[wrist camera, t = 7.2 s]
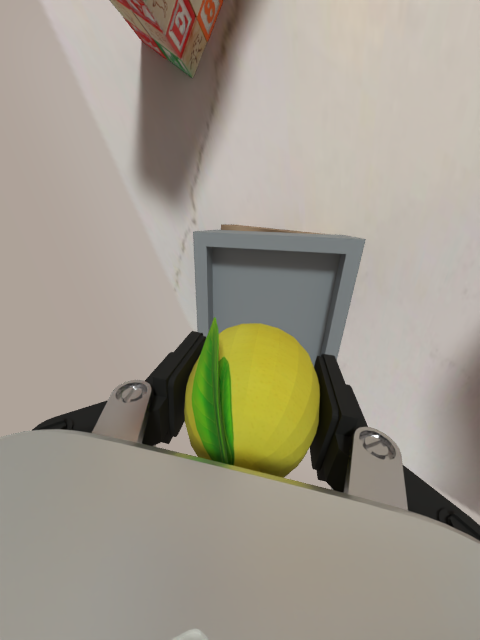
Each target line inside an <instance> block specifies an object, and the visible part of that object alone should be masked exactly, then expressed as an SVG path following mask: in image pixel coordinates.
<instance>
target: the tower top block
mask: <svg viewBox="0 0 480 640" xmlns="http://www.w3.org/2000/svg"><path fill="white" fill-rule="evenodd" d="M193 239H194V262H195V284H196V306H197V328H198V332H200V333H203V336H206V337H207V335H208V332H209V330H210V327H211V325H212V322H213V319H214V317H216V321H217V325H218V330H219V333H221V332H222V331H223V330H225V329H227V328H229V327H233V326H236V325H240V324H250V323H261V324H265V325H269V326H272V327H276V328H279V329H281V330H282V331H284V332H286V333H288V334H290V335H291V336H293V337H294V338H295V339H296V340H297V341H298V342H299V343H300V345H301V346H302V347H303V348H304V349H305V350H306V351H307V353H308V354H309V356H310V359H311V361H312V364H313V366H314V365H315V361H316V358H317V356H321V354H328V355H334V356H335V358H336V361H337V356H338V352H339V348H340V344H341V340H342V336H343V331H344V327H345V323H346V319H347V315H348V310H349V306H350V302H351V298H352V294H353V290H354V285H355V281H356V277H357V273H358V269H359V265H360V260H361V256H362V252H363V248H364V244H365V239H361V238H356V237H351V236H345V235H330V234H306V233H282V232H258V231H234V230H208V231H195V232H193Z"/></svg>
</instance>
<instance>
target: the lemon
mask: <svg viewBox="0 0 480 640" xmlns="http://www.w3.org/2000/svg"><path fill="white" fill-rule="evenodd" d="M319 403H320V388H319V381H318V377H317V374H316V372H315V369H314V366H313V364H312V361H311V359H310V356H309V354H308V353H307V351H306V350H305V349H304V348H303V347H302V346H301V345H300V343H299V342H298V341H297V340H296V339H295V338H294V337H293V336H291V335H290V334H288V333H286V332H284V331H282V330H281V329H279V328H276V327H272V326H269V325H265V324H261V323H250V324H240V325H236V326H233V327H229V328H227V329H225V330H223V331H222V332H221V333H219V330H218V325H217V321H216V317H214V319H213V322H212V325H211V327H210V330H209V332H208V335H207V337H206V340H205V343H204V346H203V349H202V351H201V354H200V356H199V358H198V360H197V361H196V363H195V365H194V367H193V369H192V371H191V373H190V376H189V379H188V382H187V386H186V395H185V408H184V414H185V423H186V427H187V431H188V435H189V439H190V442H191V446H192V448H193V449H194V451H195V452H196V454H197V456H198V457H200V458H204V459H208V460H212V461H216V462H220V463H225V464H229V465H233V466H237V467H241V468H245V469H249V470H253V471H258V472H262V473H266V474H270V475H274V476H278V477H282V478H284V477H285V476H286V475H288V474H289V473H290V472H291V471H292V470H293V469H295V468H296V467H297V466H298V464H299V463H300V462H301V461H302V459H303V458H304V456H305V455H306V453H307V450H308V449H309V447H310V445H311V443H312V441H313V439H314V437H315V434H316V431H317V427H318V423H319Z"/></svg>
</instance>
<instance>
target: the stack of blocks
mask: <svg viewBox="0 0 480 640" xmlns="http://www.w3.org/2000/svg"><path fill="white" fill-rule="evenodd" d="M110 1H111V3H112V4H113V5H114V6H115V8H116V9H117V10H118V11H119V12H120V14H121V15H122V16H123V18H124V19H125V20H126V22H127V23H128V24H129V25H130V27H131V28H132V29H133V30H134V32H135V33H136V34H137V36H138V37H139V38H140V39H141V41H143V42H144V43H145V44H146V45H148V46H149V47H150V48H152V49H153V50H155V51H156V52H157V53H159V54H160V55H161V56H163V57H164V58H165V59H167V60H169V61H170V62H172V63H173V64H174V65H176V66H177V67H178V68H180V69H181V70H182V71H184V72H185V73H186V74H188V75H189V76H190V77H191V78H193V77H194V75H195V72H196V70H197V67H198V64H199V62H200V59H201V56H202V54H203V51H204V48H205V46H206V43H207V42H208V40H209V38H210V35H211V32H212V30H213V27H214V24H215V22H216V19H217V16H218V14H219V11H220V8H221V6H222V3H223V0H110Z"/></svg>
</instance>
